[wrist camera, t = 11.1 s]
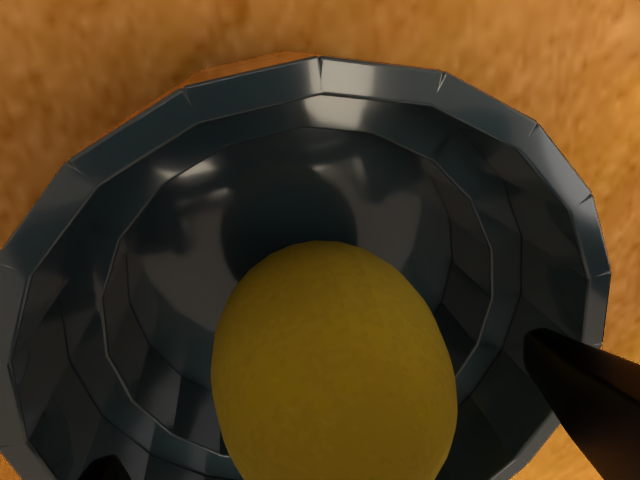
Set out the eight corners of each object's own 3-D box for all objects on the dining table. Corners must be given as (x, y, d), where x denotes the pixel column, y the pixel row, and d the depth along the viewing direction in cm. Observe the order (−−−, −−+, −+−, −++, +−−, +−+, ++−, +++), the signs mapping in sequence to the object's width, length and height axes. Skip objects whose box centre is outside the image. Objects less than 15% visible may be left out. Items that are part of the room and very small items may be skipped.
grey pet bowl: (478, 6, 12) (650, -21, 7) (488, 366, 18) (585, 487, 13) (-18, 118, 11) (-222, 177, 6) (168, 462, 17) (143, 633, 12)
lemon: (219, 195, 12) (201, 401, 5) (398, 206, 14) (584, 385, 6) (214, 350, 15) (197, 646, 7) (368, 347, 16) (483, 599, 9)
